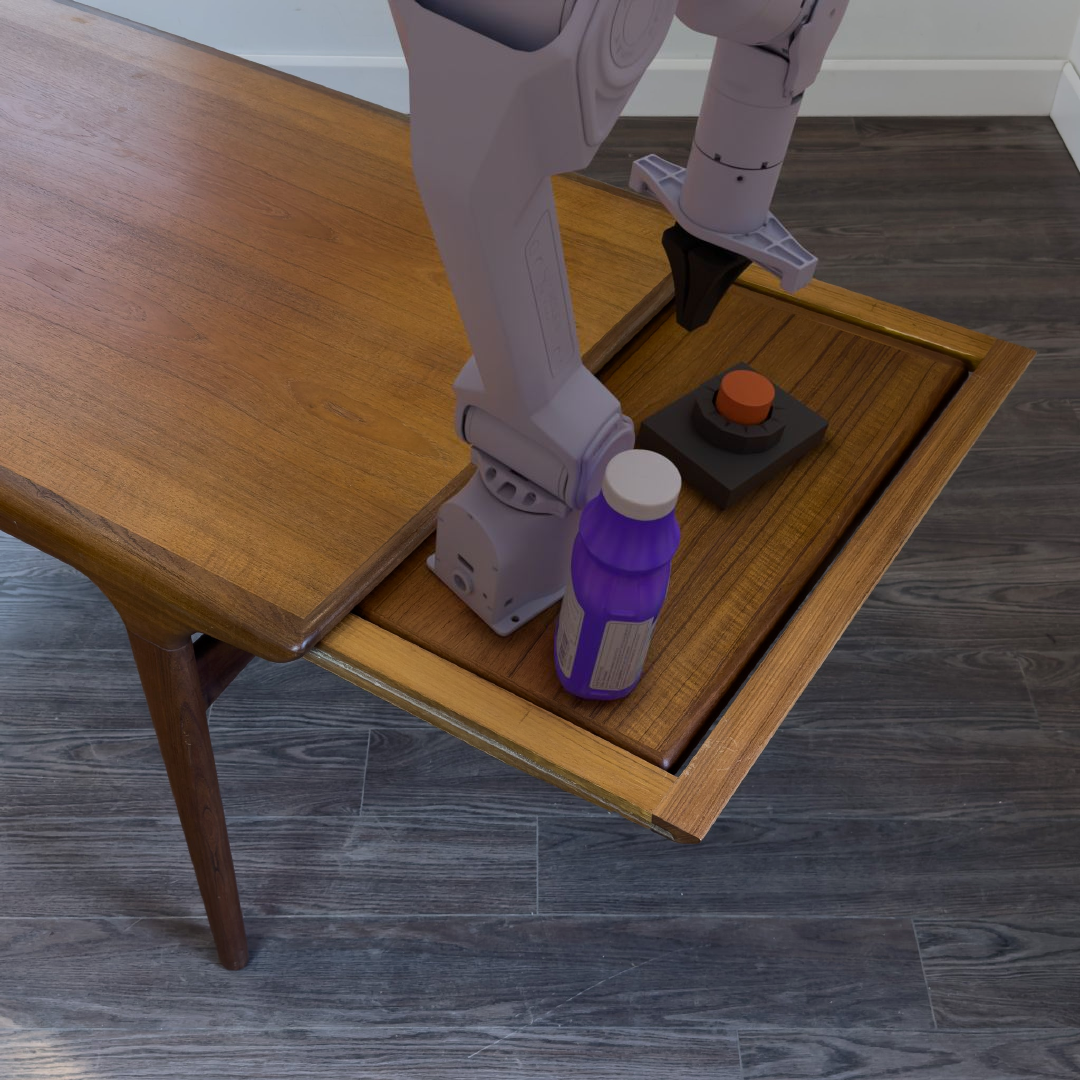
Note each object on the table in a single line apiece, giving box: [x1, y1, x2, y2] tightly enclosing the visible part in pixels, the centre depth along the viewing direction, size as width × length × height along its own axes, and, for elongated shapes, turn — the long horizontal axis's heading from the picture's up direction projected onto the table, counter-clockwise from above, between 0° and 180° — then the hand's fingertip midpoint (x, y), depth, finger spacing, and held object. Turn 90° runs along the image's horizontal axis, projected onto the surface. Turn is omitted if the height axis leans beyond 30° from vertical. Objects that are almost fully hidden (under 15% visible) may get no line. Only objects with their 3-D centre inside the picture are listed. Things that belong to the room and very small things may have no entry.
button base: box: [635, 360, 830, 511], centre depth 84 cm, size 12×9×4 cm
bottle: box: [553, 449, 682, 701], centre depth 64 cm, size 7×6×17 cm
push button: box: [716, 370, 775, 426], centre depth 82 cm, size 4×4×2 cm
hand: (691, 322), depth 78 cm, fingers closed
